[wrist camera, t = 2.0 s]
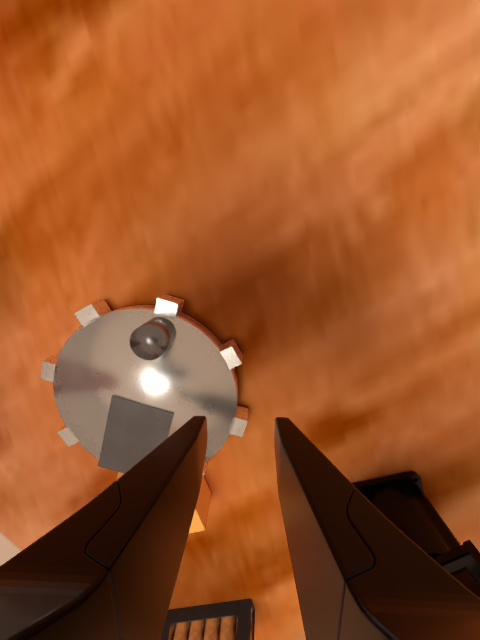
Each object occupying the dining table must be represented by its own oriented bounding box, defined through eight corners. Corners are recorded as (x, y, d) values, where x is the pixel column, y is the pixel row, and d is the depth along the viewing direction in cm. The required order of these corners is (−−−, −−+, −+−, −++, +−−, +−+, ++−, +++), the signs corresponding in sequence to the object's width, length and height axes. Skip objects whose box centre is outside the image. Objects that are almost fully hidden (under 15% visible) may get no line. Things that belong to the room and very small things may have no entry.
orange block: (200, 469, 25) (192, 502, 22) (211, 493, 26) (205, 529, 22) (181, 474, 25) (170, 507, 22) (192, 497, 26) (183, 534, 23)
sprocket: (276, 328, 21) (282, 346, 17) (219, 489, 25) (212, 536, 21) (70, 265, 20) (24, 268, 16) (47, 440, 25) (5, 478, 21)
